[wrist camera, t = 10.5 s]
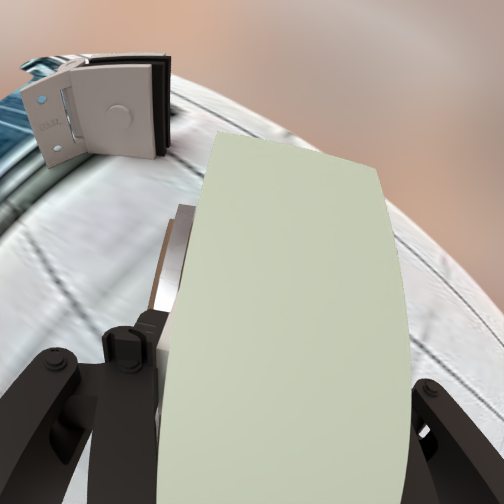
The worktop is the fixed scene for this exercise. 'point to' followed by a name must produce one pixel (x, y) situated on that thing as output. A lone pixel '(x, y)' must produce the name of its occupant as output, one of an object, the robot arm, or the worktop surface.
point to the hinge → (103, 107)
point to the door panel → (287, 337)
